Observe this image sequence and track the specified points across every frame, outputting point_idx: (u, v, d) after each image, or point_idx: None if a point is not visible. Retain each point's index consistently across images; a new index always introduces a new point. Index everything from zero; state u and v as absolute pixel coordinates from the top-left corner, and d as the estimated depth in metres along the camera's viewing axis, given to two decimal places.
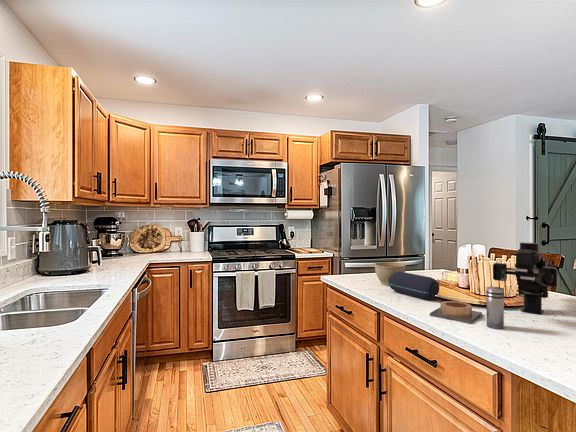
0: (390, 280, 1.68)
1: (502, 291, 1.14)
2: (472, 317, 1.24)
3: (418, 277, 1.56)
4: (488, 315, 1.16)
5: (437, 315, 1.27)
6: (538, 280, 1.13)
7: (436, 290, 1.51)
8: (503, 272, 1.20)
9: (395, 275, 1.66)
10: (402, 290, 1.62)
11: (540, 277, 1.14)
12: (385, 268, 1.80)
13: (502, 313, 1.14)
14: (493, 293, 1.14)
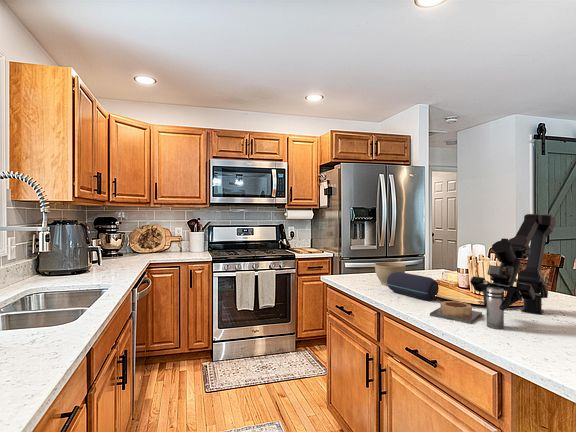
0: (389, 280, 1.67)
1: (502, 291, 1.14)
2: (472, 317, 1.24)
3: (417, 277, 1.55)
4: (488, 315, 1.16)
5: (437, 315, 1.27)
6: (505, 307, 1.14)
7: (435, 290, 1.50)
8: (485, 299, 1.18)
9: (393, 276, 1.65)
10: (401, 290, 1.61)
11: (507, 303, 1.13)
12: (385, 268, 1.80)
13: (502, 313, 1.14)
14: (493, 293, 1.14)
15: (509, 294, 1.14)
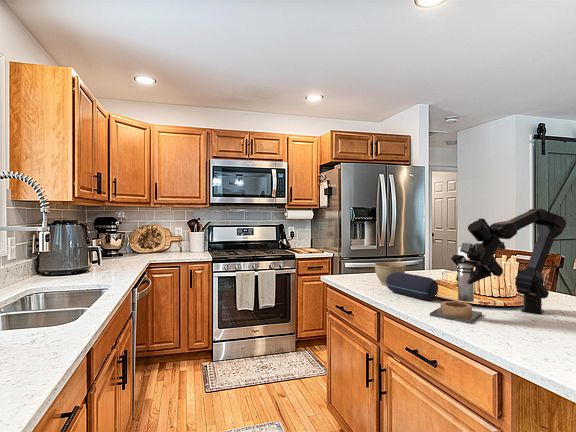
0: (388, 281, 1.66)
1: (470, 266, 1.23)
2: (472, 317, 1.24)
3: (417, 277, 1.55)
4: (458, 288, 1.26)
5: (437, 315, 1.27)
6: (472, 281, 1.22)
7: (435, 290, 1.50)
8: None
9: (393, 276, 1.65)
10: (400, 291, 1.60)
11: (474, 277, 1.22)
12: (385, 268, 1.80)
13: (470, 287, 1.23)
14: (461, 268, 1.24)
15: (477, 269, 1.22)
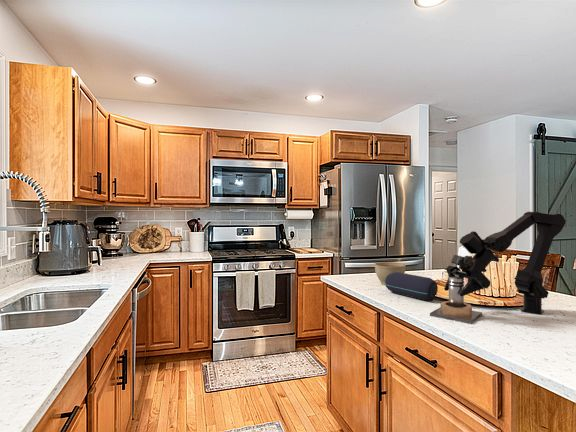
0: (387, 281, 1.66)
1: (459, 280, 1.27)
2: (472, 317, 1.24)
3: (416, 278, 1.54)
4: (449, 301, 1.30)
5: (437, 315, 1.27)
6: (464, 293, 1.24)
7: (435, 291, 1.49)
8: (446, 284, 1.34)
9: (392, 276, 1.64)
10: (400, 291, 1.60)
11: (466, 290, 1.24)
12: (385, 268, 1.80)
13: (459, 300, 1.27)
14: (450, 281, 1.29)
15: (469, 282, 1.24)
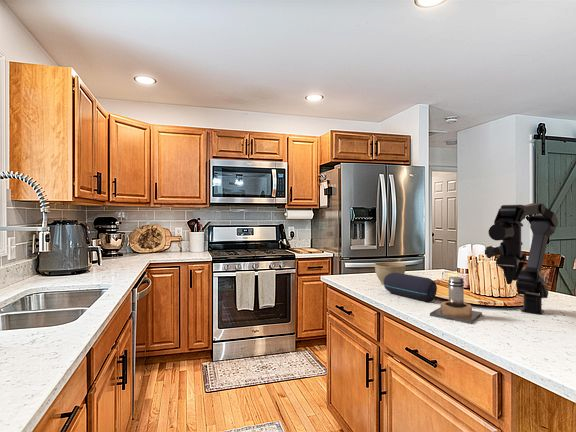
0: (386, 281, 1.64)
1: (459, 280, 1.27)
2: (472, 317, 1.24)
3: (415, 278, 1.54)
4: None
5: (437, 315, 1.27)
6: (510, 280, 1.22)
7: (434, 291, 1.49)
8: None
9: (391, 276, 1.63)
10: (399, 291, 1.59)
11: (507, 277, 1.22)
12: (385, 268, 1.80)
13: (459, 300, 1.27)
14: (450, 281, 1.29)
15: None
